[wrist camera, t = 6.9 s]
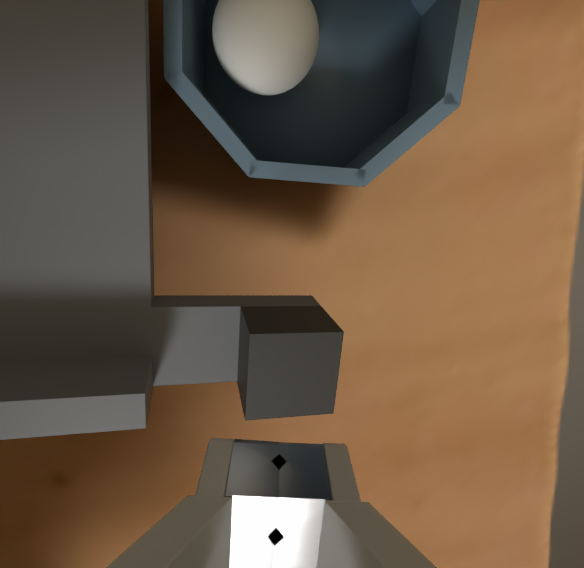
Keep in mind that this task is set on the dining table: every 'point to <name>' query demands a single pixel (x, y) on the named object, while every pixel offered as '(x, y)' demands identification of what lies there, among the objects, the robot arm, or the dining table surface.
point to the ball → (265, 42)
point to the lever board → (114, 247)
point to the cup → (330, 87)
